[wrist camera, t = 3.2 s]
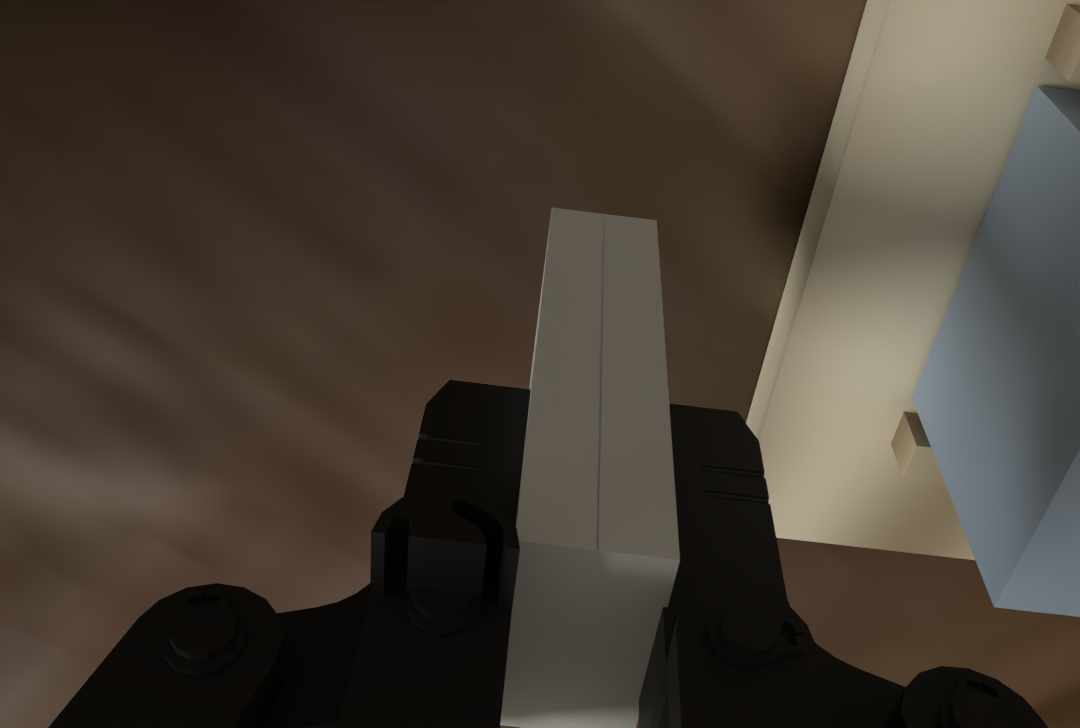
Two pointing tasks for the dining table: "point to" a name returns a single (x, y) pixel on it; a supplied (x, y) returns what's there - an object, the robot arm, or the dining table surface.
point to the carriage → (1018, 372)
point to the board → (894, 262)
